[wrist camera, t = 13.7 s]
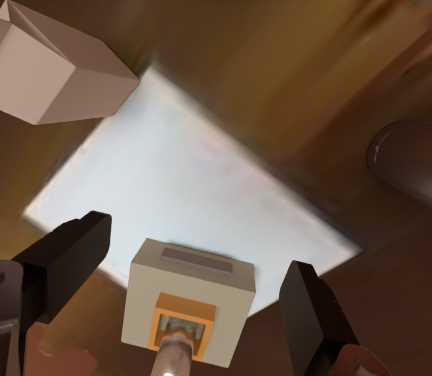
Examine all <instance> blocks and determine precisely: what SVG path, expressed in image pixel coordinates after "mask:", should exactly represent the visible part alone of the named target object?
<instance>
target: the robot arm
mask: <svg viewBox="0 0 432 376" xmlns="http://www.w3.org/2000/svg"><path fill="white" fill-rule="evenodd" d="M367 162H368V166H369V169H370V171H371V172H372V173H373V175H375V176H376V177H377V178H379V179H380V180H382V181H384V182H386V183H388V184H389V185H391V186H393V187H395V188H396V189H398V190H400V191H402V192H404V193H406V194H407V195H409V196H411V197H413V198H415V199H417V200H418V201H420V202H422V203H424V204H426V205H428V206H429V207H431V208H432V122H428V121H419V120H402V121H398V122H395V123H392V124H390V125H389V126H387V127H385V128H384V129H383V130H381V131H380V132H379V133H378V134H377V135H376V137H375V138H374V139H373V141H372V142H371V144H370V147H369V149H368V154H367ZM111 223H112V217H111V215H110V214H105V213H101V212H97V211H90V212H89V213H88V214H86V215H85V216H84V217H82V218H81V219H73V220H71V221H68V222H65V223H63V224H61V225H60V226H58V227H57V228H55V229H54V230H53V231H52V232H50V233H48V234H47V235H45V236H44V238H41V239H40V240H38V241H37V242H35V243H34V244H32V245H31V246H30V247H28V248H27V249H25V250H24V251H22V252H21V253H20V254H18V255H17V256H15V257H14V258H12V259H11V260H0V376H25V366H26V353H27V340H28V329H29V328H30V327H31V326H32V325H33V324H34V323H35V321H36V322H40V323H45V324H50V322H51V321H52V320H53V319H54V318H55V316H56V315H57V314H58V313H59V312H60V311H61V309H62V308H63V307H64V306H65V305H66V303H67V302H68V301H69V300H70V299H71V298H72V296H73V295H74V294H75V293H76V292H77V290H78V289H79V288H80V287H81V286H82V285H83V283H84V282H85V281H86V280H87V279H88V277H89V276H90V275H91V274H92V273H93V272H94V270H95V269H96V268H97V267H98V266H99V264H100V263H101V262H102V261H103V260H104V258H105V257H106V255H107V253H108V250H109V246H110V236H111ZM279 304H280V309H281V314H282V319H283V323H284V328H285V333H286V338H287V342H288V347H289V352H290V357H291V362H292V366H293V371H294V376H391V375H390V373H389V371H388V370H387V368H386V367H385V366H384V364H383V363H382V362H381V361H380V360H379V359H378V358H377V357H376V356H375V355H373V354H372V353H371V352H369V351H368V350H366V349H365V348H363V347H361V346H360V345H359V343H358V341H357V339H356V337H355V335H354V333H353V331H352V329H351V327H350V325H349V323H348V321H347V319H346V317H345V315H344V313H343V312H342V309H341V307H340V305H339V303H337V299H336V297H335V295H334V293H333V291H332V289H331V288H330V287H329V286H328V285H327V284H326V283H325V282H324V281H323V279H319V278H318V276H317V274H316V272H315V270H314V267H313V266H312V265H311V264H307V263H303V262H299V261H295V260H293V261H292V262H291V264H290V266H289V269H288V271H287V273H286V276H285V278H284V281H283V283H282V286H281V288H280V292H279Z"/></svg>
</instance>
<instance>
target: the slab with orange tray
mask: <svg viewBox="0 0 432 376" xmlns="http://www.w3.org/2000/svg"><path fill="white" fill-rule="evenodd" d="M255 294H256V289H255V279H254V269H253V264H250V263H246V262H242V261H238V260H234V259H230V258H226V257H221V256H217V255H213V254H209V253H205V252H201V251H197V250H193V249H189V248H185V247H181V246H177V245H172V244H168V243H164V242H160V241H156V240H152V239H148V238H147V239H146V240H145V242H144V243H143V245H142V246H141V248H140V249H139V251H138V252H137V254H136V255H135V257H134V258H133V260H132V261H131V265H130V274H129V282H128V290H127V298H126V306H125V314H124V322H123V330H122V338H121V342H124V343H128V344H132V345H136V346H140V347H144V348H147V349H151V350H156V351H158V350H159V347H160V344H161V341H162V337H163V334H164V331H165V327H166V324H167V321H168V318H169V316H173V317H177V318H181V319H185V320H189V321H193V322H197V323H198V325H197V331H196V337H195V344H194V350H193V356H192V360H196V361H200V362H206V363H210V364H214V365H218V366H222V367H226V368H228V367H229V364H230V361H231V359H232V356H233V353H234V350H235V348H236V345H237V342H238V340H239V337H240V334H241V332H242V329H243V326H244V324H245V321H246V318H247V315H248V313H249V310H250V307H251V305H252V302H253V299H254V297H255Z"/></svg>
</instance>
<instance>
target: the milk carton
mask: <svg viewBox="0 0 432 376" xmlns="http://www.w3.org/2000/svg"><path fill="white" fill-rule="evenodd" d="M139 83H140V80H139V79H138V78H137V77H136V76H135V75H134V74H133V73H132V72H131V70H130V69H129V68H128V67H127V66H126V65H125V64H124V63H123V62H122V61H121V60H120V59H119V58H118V57H117V56H116V55H115V54H114V53H113V52H112V51H111V50H110V49H109V48H108V47H107V46H106V44H105V43H104V42H102V41H101V40H98V39H96V38H94V37H92V36H89V35H87V34H85V33H83V32H80V31H78V30H76V29H74V28H71V27H69V26H67V25H65V24H62V23H60V22H58V21H56V20H54V19H51V18H49V17H47V16H45V15H42V14H40V13H38V12H36V11H33V10H31V9H29V8H27V7H24V6H22V5H20V4H18V3H15V2H13V1H11V0H5V2H4V4H3V6H2V7H1V9H0V110H2V111H4V112H6V113H8V114H11V115H13V116H15V117H18V118H20V119H22V120H24V121H27V122H29V123H31V124H33V125H37V124H46V123H55V122H63V121H72V120H81V119H90V118H98V117H107V116H112V115H113V114H114V113H115V112H116V111H117V110H118V108H119V107H120V106H121V105H122V103H123V102H124V101H125V100H126V99H127V97H128V96H129V95H130V94H131V93H132V91H133V90H134V89H135V88H136V86H137V85H138V84H139Z"/></svg>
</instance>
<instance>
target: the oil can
mask: <svg viewBox="0 0 432 376" xmlns="http://www.w3.org/2000/svg"><path fill="white" fill-rule="evenodd" d="M197 325H198V323H197V322H193V321H189V320H185V319H181V318H177V317H173V316H169V318H168V321H167V324H166V327H165V331H164V334H163V337H162V341H161V344H160V347H159V350H158V354H157V357H156V360H155V363H154V367H153V370H152V373H151V376H189V374H190V368H191V362H192V356H193V350H194V344H195V337H196V331H197Z"/></svg>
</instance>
